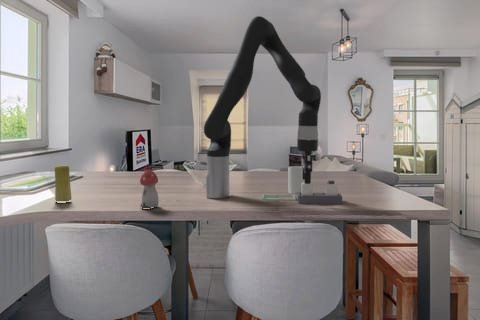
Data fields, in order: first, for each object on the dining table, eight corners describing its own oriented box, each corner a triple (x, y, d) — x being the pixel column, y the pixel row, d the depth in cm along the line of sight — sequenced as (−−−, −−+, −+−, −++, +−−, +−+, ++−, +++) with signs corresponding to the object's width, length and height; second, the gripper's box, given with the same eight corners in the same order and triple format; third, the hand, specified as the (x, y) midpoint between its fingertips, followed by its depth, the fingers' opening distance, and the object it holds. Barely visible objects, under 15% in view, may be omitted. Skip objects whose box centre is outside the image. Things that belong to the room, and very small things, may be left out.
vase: (59, 200, 159) (57, 165, 158) (74, 200, 159) (73, 165, 158) (52, 203, 153) (50, 167, 152) (68, 203, 153) (66, 167, 152)
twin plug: (326, 202, 147) (326, 181, 146) (324, 200, 151) (325, 180, 150) (337, 203, 147) (337, 181, 146) (335, 200, 151) (335, 180, 150)
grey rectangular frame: (298, 206, 146) (298, 195, 146) (296, 202, 153) (297, 192, 153) (342, 206, 145) (342, 196, 145) (338, 203, 152) (338, 192, 152)
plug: (302, 202, 147) (302, 181, 147) (301, 200, 151) (301, 180, 151) (312, 202, 147) (313, 181, 146) (311, 200, 151) (312, 180, 150)
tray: (262, 202, 153) (262, 198, 153) (262, 198, 162) (262, 194, 162) (295, 203, 152) (295, 199, 152) (294, 198, 161) (294, 194, 161)
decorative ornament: (143, 205, 150) (142, 165, 149) (160, 204, 151) (159, 165, 149) (138, 210, 141) (137, 168, 139) (156, 210, 141) (155, 168, 140)
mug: (303, 196, 166) (303, 168, 165) (287, 195, 167) (287, 167, 166) (304, 192, 176) (304, 165, 174) (289, 191, 177) (289, 165, 176)
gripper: (296, 137, 154) (295, 178, 156) (298, 139, 140) (297, 184, 142) (315, 137, 154) (314, 178, 155) (320, 139, 140) (318, 184, 141)
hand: (306, 181), depth 149 cm, fingers open, 8 cm apart
